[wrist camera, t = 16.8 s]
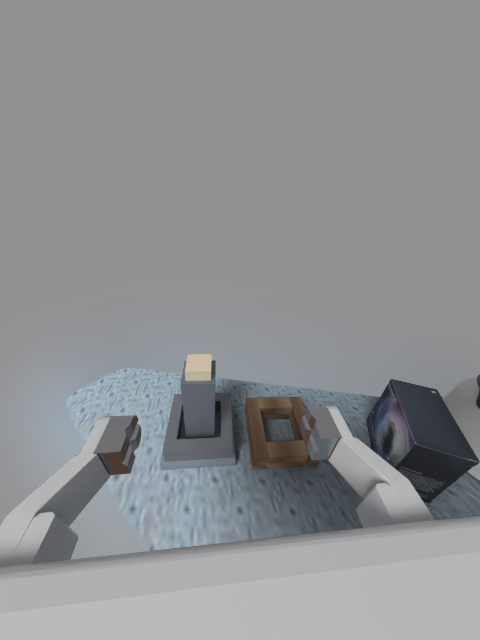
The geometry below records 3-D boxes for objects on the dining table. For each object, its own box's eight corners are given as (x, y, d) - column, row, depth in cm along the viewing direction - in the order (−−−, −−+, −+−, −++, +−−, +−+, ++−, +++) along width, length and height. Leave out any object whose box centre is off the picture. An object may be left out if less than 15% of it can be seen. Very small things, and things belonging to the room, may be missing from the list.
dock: (231, 403, 38) (232, 388, 36) (235, 465, 30) (236, 449, 28) (173, 405, 37) (171, 390, 35) (160, 469, 29) (157, 454, 27)
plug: (214, 416, 35) (215, 351, 28) (214, 440, 32) (215, 374, 25) (189, 417, 35) (184, 351, 28) (186, 442, 31) (179, 374, 24)
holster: (296, 408, 39) (300, 396, 37) (317, 465, 31) (322, 454, 29) (244, 409, 38) (246, 398, 36) (252, 469, 30) (254, 458, 28)
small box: (363, 418, 38) (388, 375, 32) (404, 431, 36) (438, 388, 31) (376, 485, 29) (414, 441, 24) (431, 505, 28) (485, 463, 22)
